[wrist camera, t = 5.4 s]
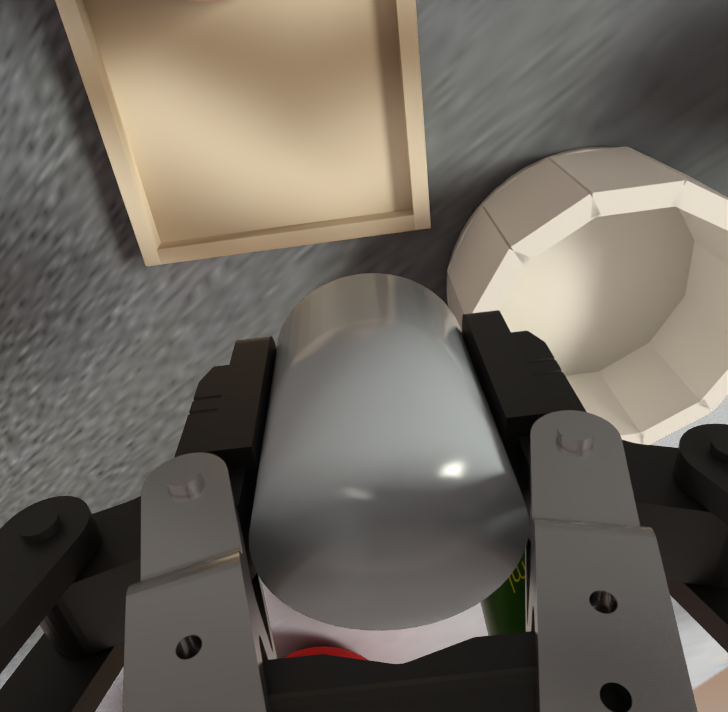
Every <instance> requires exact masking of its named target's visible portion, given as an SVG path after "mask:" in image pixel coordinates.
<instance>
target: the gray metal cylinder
mask: <svg viewBox="0 0 728 712" xmlns="http://www.w3.org/2000/svg"><path fill="white" fill-rule="evenodd" d="M528 533H529V516H528V512H527V508H526V504H525V501H524V498H523V496H522V493H521V490H520V487H519V485H518V482H517V479H516V477H515V474H514V471H513V469H512V466H511V463H510V461H509V458H508V455H507V453H506V450H505V447H504V445H503V442H502V439H501V436H500V434H499V431H498V428H497V426H496V423H495V420H494V418H493V415H492V412H491V410H490V407H489V404H488V402H487V399H486V396H485V394H484V391H483V388H482V385H481V383H480V380H479V377H478V375H477V372H476V369H475V367H474V364H473V361H472V359H471V356H470V353H469V351H468V348H467V345H466V343H465V340H464V337H463V334H462V332H461V329H460V327H459V324H458V322H457V320H456V318H455V316H454V315H453V313H452V311H451V310H450V308H449V307H448V306H447V305H446V304H445V303H444V301H443V300H442V299H441V298H439V297H438V296H437V295H436V294H435V293H434V292H432V291H431V290H429V289H428V288H426V287H424V286H423V285H421V284H419V283H416V282H414V281H412V280H409V279H406V278H403V277H400V276H395V275H390V274H380V273H366V274H356V275H351V276H346V277H343V278H339V279H336V280H333V281H331V282H329V283H327V284H325V285H322V286H321V287H319V288H317V289H316V290H314V291H313V292H311V293H310V294H309V295H307V296H306V297H305V298H304V299H302V300H301V301H300V302H299V303H298V304H297V306H296V307H295V308H294V309H293V310H292V312H291V313H290V314H289V316H288V317H287V319H286V321H285V323H284V325H283V326H282V328H281V331H280V334H279V337H278V342H277V348H276V355H275V361H274V368H273V375H272V382H271V388H270V395H269V402H268V409H267V416H266V422H265V429H264V436H263V443H262V449H261V456H260V463H259V470H258V476H257V483H256V489H255V496H254V503H253V510H252V516H251V523H250V530H249V550H250V555H251V560H252V562H253V565H254V567H255V570H256V572H257V574H258V575H259V577H260V578H261V580H262V582H263V583H264V584H265V585H266V586H267V588H268V589H269V590H270V591H271V592H272V593H273V594H274V595H275V596H276V597H277V598H279V599H280V600H281V601H282V602H283V603H285V604H286V605H288V606H289V607H291V608H292V609H294V610H296V611H298V612H300V613H302V614H304V615H306V616H308V617H310V618H313V619H316V620H318V621H321V622H324V623H328V624H331V625H335V626H340V627H345V628H351V629H360V630H398V629H406V628H413V627H418V626H423V625H427V624H431V623H435V622H438V621H441V620H444V619H447V618H449V617H452V616H454V615H457V614H459V613H461V612H463V611H465V610H467V609H469V608H471V607H473V606H475V605H476V604H478V603H479V602H481V601H482V600H484V599H485V598H487V597H488V596H489V595H491V594H492V593H493V592H494V591H495V590H497V589H498V588H499V587H500V586H501V585H502V584H503V583H504V582H505V581H506V580H507V579H508V578H509V576H510V575H511V574H512V572H513V571H514V569H515V568H516V567H517V565H518V563H519V561H520V559H521V557H522V555H523V553H524V550H525V547H526V544H527V540H528Z"/></svg>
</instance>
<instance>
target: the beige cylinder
mask: <svg viewBox="0 0 728 712" xmlns="http://www.w3.org/2000/svg"><path fill="white" fill-rule="evenodd" d="M190 1H197V2H210V1H217V0H190Z"/></svg>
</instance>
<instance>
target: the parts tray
mask: <svg viewBox="0 0 728 712" xmlns="http://www.w3.org/2000/svg"><path fill="white" fill-rule="evenodd" d="M55 1H56V4H57V7H58V10H59V13H60V16H61V19H62V22H63V25H64V28H65V31H66V34H67V37H68V39H69V42H70V45H71V48H72V51H73V54H74V57H75V60H76V63H77V66H78V69H79V72H80V75H81V78H82V80H83V83H84V86H85V89H86V92H87V95H88V98H89V101H90V104H91V107H92V110H93V113H94V116H95V119H96V122H97V124H98V127H99V130H100V133H101V136H102V139H103V142H104V145H105V148H106V151H107V154H108V157H109V160H110V163H111V165H112V168H113V171H114V174H115V177H116V180H117V183H118V186H119V189H120V192H121V195H122V198H123V201H124V204H125V206H126V209H127V212H128V215H129V218H130V221H131V224H132V227H133V230H134V233H135V236H136V239H137V242H138V245H139V248H140V250H141V253H142V256H143V259H144V262H145V265H146V266H152V265H160V264H167V263H175V262H182V261H190V260H197V259H205V258H212V257H219V256H227V255H234V254H242V253H249V252H257V251H264V250H272V249H279V248H286V247H294V246H301V245H309V244H316V243H324V242H331V241H339V240H346V239H353V238H361V237H368V236H376V235H383V234H391V233H398V232H406V231H413V230H420V229H428V228H431V222H430V207H429V192H428V177H427V163H426V148H425V133H424V118H423V104H422V89H421V74H420V59H419V44H418V30H417V15H416V0H217V1H210V2H197V1H190V0H55Z"/></svg>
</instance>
